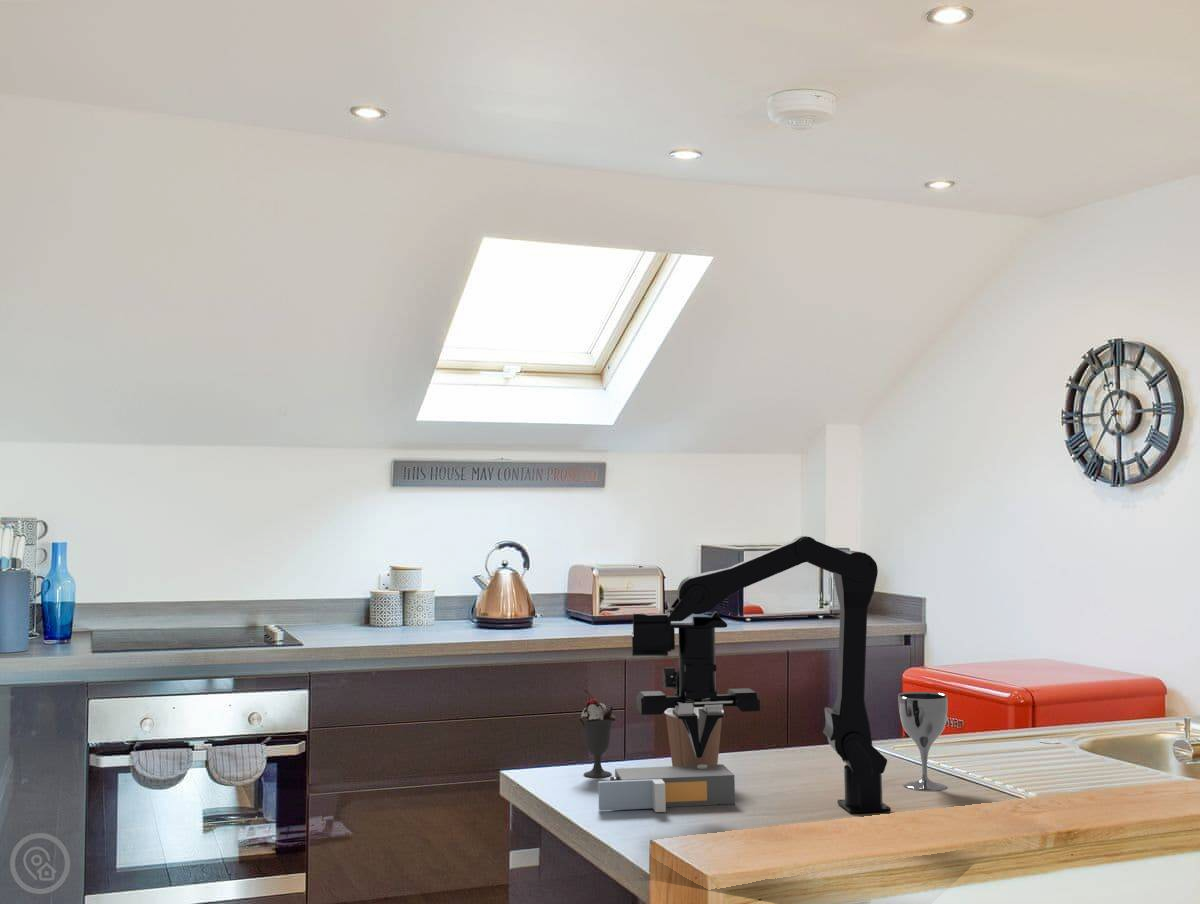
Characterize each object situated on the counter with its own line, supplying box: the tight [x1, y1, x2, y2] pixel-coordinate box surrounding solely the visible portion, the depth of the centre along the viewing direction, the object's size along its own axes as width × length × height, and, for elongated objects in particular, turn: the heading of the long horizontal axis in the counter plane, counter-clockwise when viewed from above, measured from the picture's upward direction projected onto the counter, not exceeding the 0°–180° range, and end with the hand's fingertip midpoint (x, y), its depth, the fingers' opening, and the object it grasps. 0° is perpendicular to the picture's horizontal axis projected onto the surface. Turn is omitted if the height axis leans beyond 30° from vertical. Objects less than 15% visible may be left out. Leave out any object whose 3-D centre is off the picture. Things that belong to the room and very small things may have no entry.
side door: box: [597, 779, 667, 813], centre depth 179 cm, size 3×10×4 cm, turn 97°
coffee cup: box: [663, 707, 725, 766], centre depth 200 cm, size 10×10×12 cm
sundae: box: [578, 688, 616, 779], centre depth 205 cm, size 7×7×15 cm
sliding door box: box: [609, 763, 736, 808], centre depth 186 cm, size 8×19×5 cm, turn 97°
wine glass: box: [897, 691, 948, 792], centre depth 194 cm, size 8×8×15 cm
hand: (698, 757), depth 181 cm, fingers closed
